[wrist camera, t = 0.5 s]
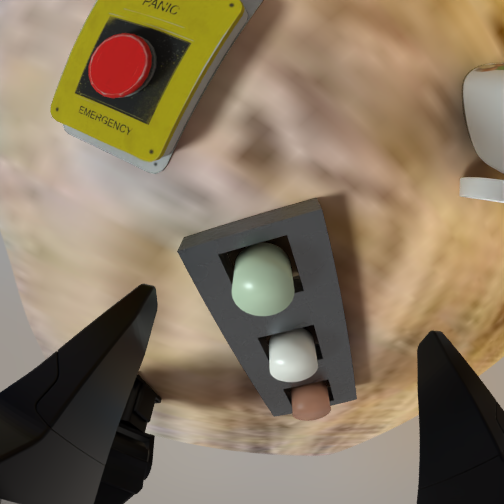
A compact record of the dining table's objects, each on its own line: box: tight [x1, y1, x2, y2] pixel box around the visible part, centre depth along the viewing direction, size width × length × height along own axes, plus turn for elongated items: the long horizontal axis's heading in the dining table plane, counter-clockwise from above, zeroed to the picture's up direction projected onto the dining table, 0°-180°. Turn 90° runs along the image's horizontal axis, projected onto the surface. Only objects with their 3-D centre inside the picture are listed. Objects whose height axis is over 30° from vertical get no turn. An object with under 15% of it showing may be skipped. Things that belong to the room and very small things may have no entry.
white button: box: [269, 328, 318, 382], centre depth 24 cm, size 4×4×3 cm
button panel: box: [177, 198, 357, 416], centre depth 26 cm, size 10×24×2 cm, turn 19°
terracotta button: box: [291, 381, 331, 420], centre depth 28 cm, size 4×4×3 cm
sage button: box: [232, 243, 294, 316], centre depth 20 cm, size 4×4×3 cm
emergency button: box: [50, 0, 263, 174], centre depth 13 cm, size 9×4×15 cm
